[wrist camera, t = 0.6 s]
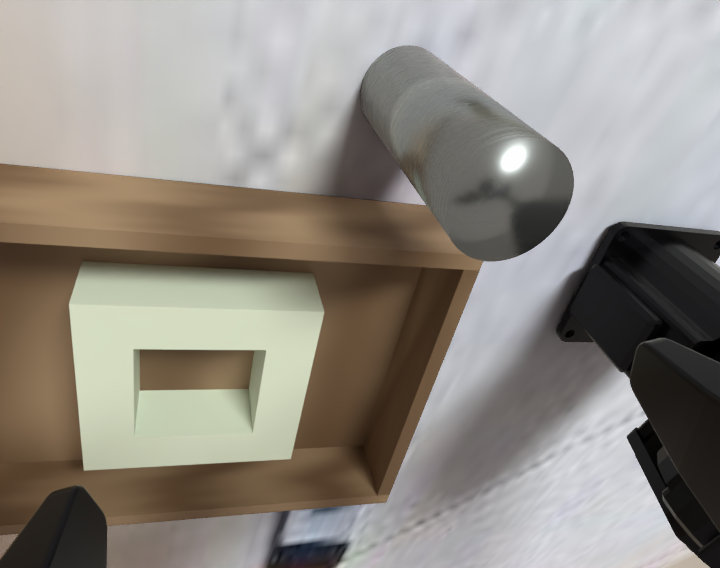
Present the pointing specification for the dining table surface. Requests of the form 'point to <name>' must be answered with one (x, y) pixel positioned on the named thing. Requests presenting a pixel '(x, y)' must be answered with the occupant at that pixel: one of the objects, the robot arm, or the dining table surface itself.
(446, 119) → the peg
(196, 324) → the bore plate
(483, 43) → the dining table surface
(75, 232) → the crate
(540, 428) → the dining table surface
